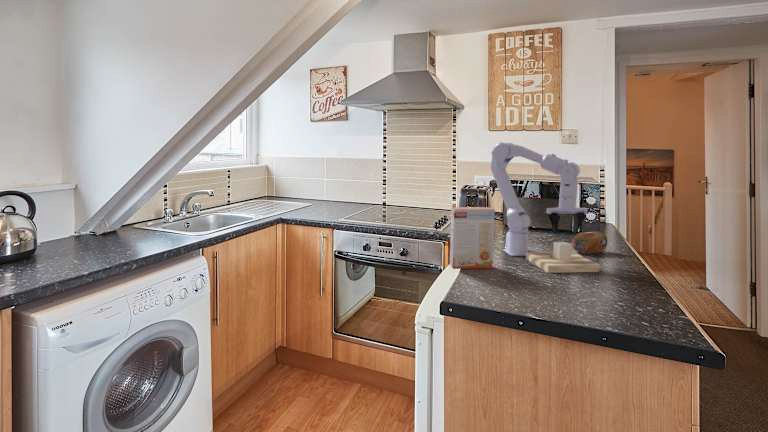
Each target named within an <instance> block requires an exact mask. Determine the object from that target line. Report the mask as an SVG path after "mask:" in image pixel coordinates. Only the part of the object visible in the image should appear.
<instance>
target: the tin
mask: <svg viewBox="0 0 768 432" xmlns="http://www.w3.org/2000/svg"><path fill="white" fill-rule="evenodd" d="M607 245H608V237H607V235H606V234H605V233H604V232H602V231H588V232H578V233H576V234H575V235H574V236H573V238H572V249H573V250H574V251H575V252H577V253H578V254H582V255H585V254H597V253H602V252H603V251H604V250H605V249H606V248H607Z"/></svg>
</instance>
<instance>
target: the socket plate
mask: <svg viewBox="0 0 768 432" xmlns="http://www.w3.org/2000/svg"><path fill="white" fill-rule="evenodd" d="M525 260H527V261H529V262H530V263H531V264H533V265H535V266H537V267H538V268H540V269H541V270H543V271H545V272H546V273H548V274H549V273H558V274H559V273H599V272H600V269H601V264H599V263H597V262H595V261H593V260H590V259H589V258H586V257H584V256H582V255H580V254H579V253H576V252H573V251H571V260H556V259H554V258H553V251H538V252H537V251H536V252H535V251H534V252H533V251H530V252H528V251H527V252H526V256H525Z"/></svg>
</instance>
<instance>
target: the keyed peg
mask: <svg viewBox="0 0 768 432" xmlns="http://www.w3.org/2000/svg"><path fill="white" fill-rule="evenodd" d="M552 245H553V247H552V252H553V258H554V259H556V260H571V252H573V251H572V249H573V243H572V244H571V243H569V242H566V241H554V242H553V244H552Z"/></svg>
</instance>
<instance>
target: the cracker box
mask: <svg viewBox="0 0 768 432" xmlns="http://www.w3.org/2000/svg"><path fill="white" fill-rule="evenodd" d="M495 212H496V210H495V208H493V207H490V206H487V207H486V206H481V207H480V206H479V207H478V206H466V207H465V206H460V207H459V206H455V207H454V206H452V207H450V244H449V245H450V246H449V248H450V250H449V266H450V267H451V268H452V269H453V270H455V269H456V270H457V269H458V270H461V269H463V270H464V269H465V270H467V269H469V270H471V269H472V270H473V269H481V270H483V269H487V270H488V269H489V270H490V269H493V265H494V264H493V263H494V241H495V239H494V238H495V236H494V235H495V215H496V214H495Z"/></svg>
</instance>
